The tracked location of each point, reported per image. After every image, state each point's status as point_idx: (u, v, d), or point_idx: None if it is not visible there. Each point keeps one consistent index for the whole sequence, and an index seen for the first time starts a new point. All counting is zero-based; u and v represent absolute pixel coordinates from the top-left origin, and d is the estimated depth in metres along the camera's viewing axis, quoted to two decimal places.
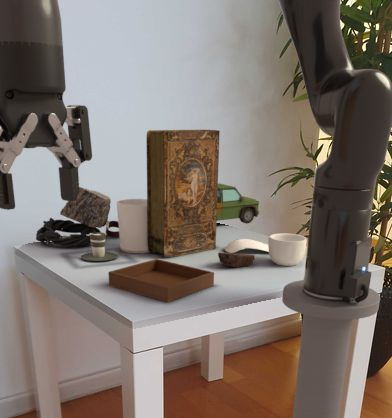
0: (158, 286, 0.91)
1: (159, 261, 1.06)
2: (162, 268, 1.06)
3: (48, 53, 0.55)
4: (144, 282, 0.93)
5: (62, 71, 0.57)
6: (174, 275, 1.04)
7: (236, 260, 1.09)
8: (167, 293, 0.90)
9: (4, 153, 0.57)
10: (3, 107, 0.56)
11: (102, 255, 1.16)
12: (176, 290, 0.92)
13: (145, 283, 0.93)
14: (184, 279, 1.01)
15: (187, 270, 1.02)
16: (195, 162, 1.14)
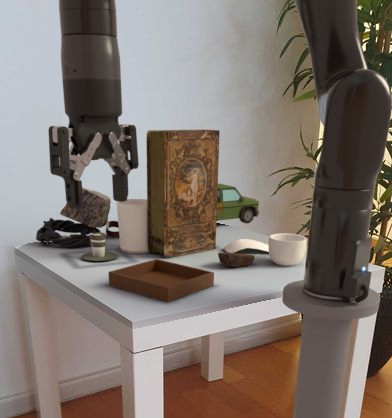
0: (158, 286, 0.91)
1: (159, 261, 1.06)
2: (162, 268, 1.06)
3: (112, 86, 0.70)
4: (144, 282, 0.93)
5: (121, 99, 0.73)
6: (174, 275, 1.04)
7: (236, 260, 1.09)
8: (167, 293, 0.90)
9: (76, 164, 0.72)
10: (77, 129, 0.71)
11: (102, 255, 1.16)
12: (176, 290, 0.92)
13: (145, 283, 0.93)
14: (184, 279, 1.01)
15: (187, 270, 1.02)
16: (195, 162, 1.14)
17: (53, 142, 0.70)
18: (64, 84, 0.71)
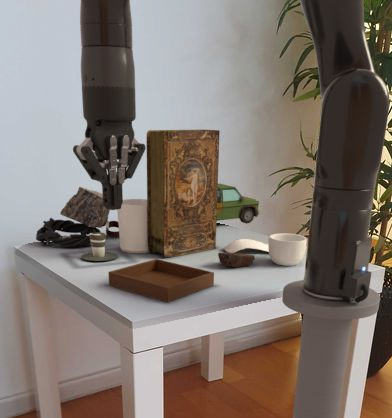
0: (158, 286, 0.91)
1: (159, 261, 1.06)
2: (162, 268, 1.06)
3: (127, 93, 0.77)
4: (144, 282, 0.93)
5: (134, 105, 0.79)
6: (174, 275, 1.04)
7: (236, 260, 1.09)
8: (167, 293, 0.90)
9: (109, 172, 0.82)
10: (93, 137, 0.78)
11: (102, 255, 1.16)
12: (176, 290, 0.92)
13: (145, 283, 0.93)
14: (184, 279, 1.01)
15: (187, 270, 1.02)
16: (195, 162, 1.14)
17: (82, 159, 0.79)
18: (83, 91, 0.77)
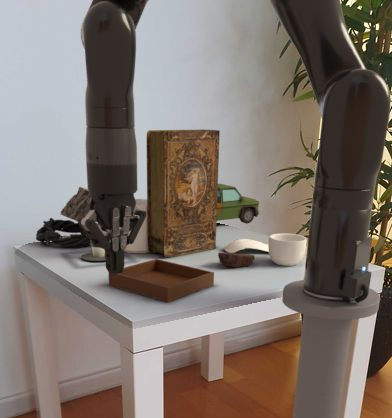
0: (158, 286, 0.91)
1: (159, 261, 1.06)
2: (162, 268, 1.06)
3: (129, 170, 0.81)
4: (144, 282, 0.93)
5: (136, 179, 0.83)
6: (174, 275, 1.04)
7: (236, 260, 1.09)
8: (167, 293, 0.90)
9: (111, 241, 0.86)
10: (97, 210, 0.82)
11: (102, 255, 1.16)
12: (176, 290, 0.92)
13: (145, 283, 0.93)
14: (184, 279, 1.01)
15: (187, 270, 1.02)
16: (195, 162, 1.14)
17: (86, 230, 0.83)
18: (88, 167, 0.81)
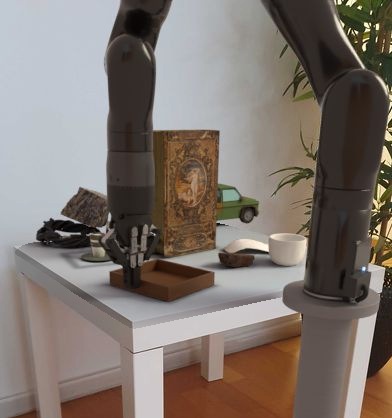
0: (159, 285, 0.91)
1: (160, 261, 1.06)
2: (163, 268, 1.06)
3: (148, 191, 0.85)
4: (145, 281, 0.93)
5: (154, 199, 0.87)
6: (175, 275, 1.04)
7: (236, 260, 1.09)
8: (168, 292, 0.91)
9: (129, 258, 0.90)
10: (117, 229, 0.86)
11: (102, 255, 1.16)
12: (177, 289, 0.92)
13: (146, 282, 0.93)
14: (185, 279, 1.02)
15: (188, 270, 1.02)
16: (195, 162, 1.14)
17: (106, 248, 0.87)
18: (108, 188, 0.85)
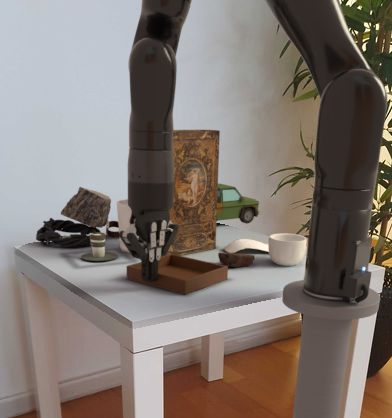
0: (176, 279, 0.95)
1: (174, 256, 1.10)
2: (177, 263, 1.10)
3: (167, 188, 0.89)
4: (162, 275, 0.97)
5: None
6: (189, 269, 1.08)
7: (236, 260, 1.09)
8: (185, 286, 0.94)
9: (148, 252, 0.93)
10: (137, 224, 0.89)
11: (102, 255, 1.16)
12: (193, 283, 0.96)
13: (163, 276, 0.97)
14: (199, 273, 1.05)
15: (201, 264, 1.06)
16: (195, 162, 1.14)
17: (127, 242, 0.91)
18: (129, 184, 0.89)
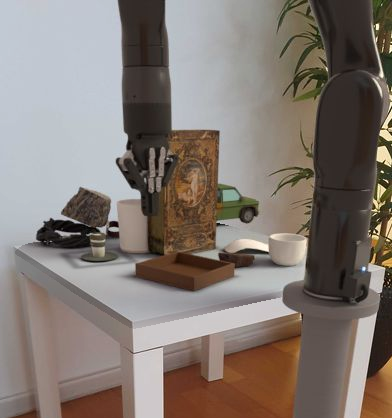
0: (185, 276, 0.97)
1: (181, 253, 1.11)
2: (184, 260, 1.12)
3: (165, 109, 0.83)
4: (171, 272, 0.99)
5: (171, 119, 0.86)
6: (196, 267, 1.09)
7: (236, 260, 1.09)
8: (193, 282, 0.96)
9: (147, 182, 0.88)
10: (134, 149, 0.84)
11: (102, 255, 1.16)
12: (201, 280, 0.98)
13: (172, 273, 0.98)
14: (206, 270, 1.07)
15: (208, 262, 1.08)
16: (195, 162, 1.14)
17: (124, 170, 0.85)
18: (124, 107, 0.84)
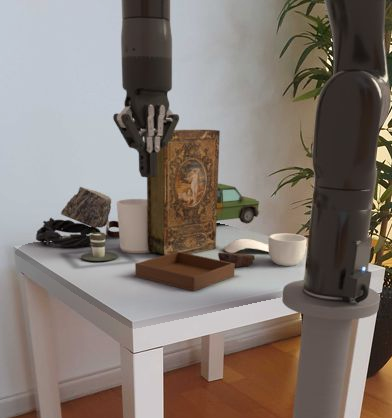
0: (185, 276, 0.97)
1: (181, 253, 1.11)
2: (184, 260, 1.12)
3: (165, 64, 0.81)
4: (171, 272, 0.99)
5: (171, 75, 0.83)
6: (196, 267, 1.09)
7: (236, 260, 1.09)
8: (193, 282, 0.96)
9: (146, 140, 0.86)
10: (133, 105, 0.82)
11: (102, 255, 1.16)
12: (201, 280, 0.98)
13: (172, 273, 0.98)
14: (206, 270, 1.07)
15: (208, 262, 1.08)
16: (195, 162, 1.14)
17: (122, 127, 0.83)
18: (123, 61, 0.81)
